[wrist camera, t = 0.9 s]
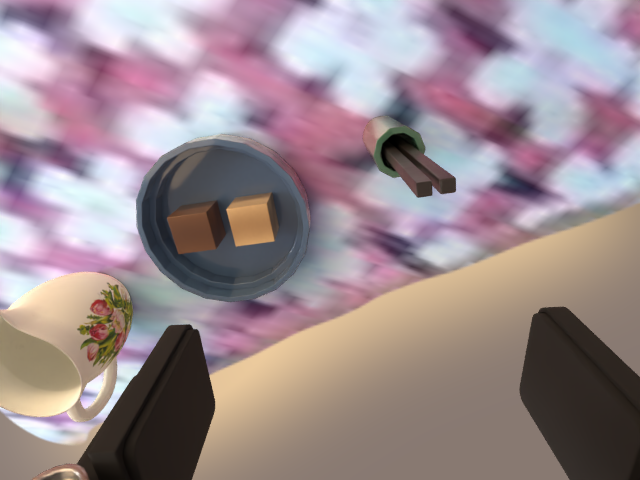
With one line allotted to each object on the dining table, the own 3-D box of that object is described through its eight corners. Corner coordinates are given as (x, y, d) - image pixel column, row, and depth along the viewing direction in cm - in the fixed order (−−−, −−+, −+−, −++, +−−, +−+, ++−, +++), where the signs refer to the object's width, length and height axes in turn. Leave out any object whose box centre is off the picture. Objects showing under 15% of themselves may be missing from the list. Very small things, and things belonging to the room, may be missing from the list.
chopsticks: (371, 133, 38) (416, 182, 19) (392, 130, 38) (456, 177, 19) (372, 141, 38) (416, 198, 20) (392, 138, 38) (456, 192, 19)
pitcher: (93, 367, 50) (14, 464, 37) (31, 244, 43) (-91, 311, 31) (172, 356, 49) (119, 452, 37) (121, 229, 43) (34, 292, 30)
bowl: (130, 147, 39) (110, 154, 35) (295, 121, 38) (291, 126, 34) (179, 291, 46) (166, 310, 42) (320, 273, 44) (320, 291, 41)
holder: (360, 119, 38) (371, 131, 28) (400, 113, 37) (424, 123, 28) (364, 157, 39) (376, 180, 30) (402, 151, 39) (426, 173, 30)
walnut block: (180, 205, 41) (166, 217, 37) (217, 200, 40) (206, 212, 37) (191, 239, 42) (178, 254, 39) (226, 234, 42) (216, 249, 38)
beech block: (235, 197, 40) (226, 209, 37) (272, 192, 40) (266, 203, 36) (243, 232, 42) (235, 246, 38) (279, 227, 42) (274, 241, 38)
